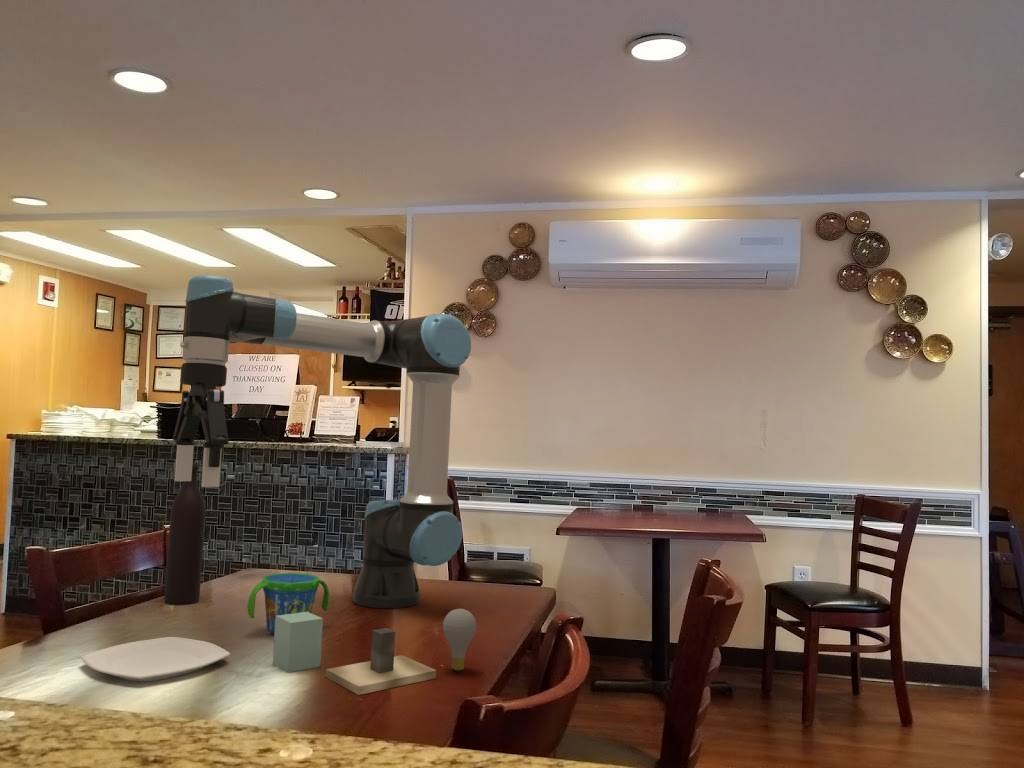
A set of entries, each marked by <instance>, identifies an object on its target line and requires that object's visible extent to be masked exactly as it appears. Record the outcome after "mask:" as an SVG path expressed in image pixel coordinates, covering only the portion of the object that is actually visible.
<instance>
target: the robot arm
mask: <svg viewBox="0 0 1024 768" xmlns="http://www.w3.org/2000/svg"><path fill="white" fill-rule="evenodd" d="M186 290H187V291H186V298H185V301H184V302H185V310H184V311H185V312H184V313H185V314H184V315H185V316H184V331H183V332H184V333H183V341H182V342H180V348H182V358H181V359H182V360H183V361H185V362H183V363H182V364H181V369H180V381H179V382H180V383H181V384H182V385H185V386H190V390H183V391H182V392H181V400H180V401H181V403H180V407H179V411H178V415H177V419H176V424H175V428H174V432H173V436H172V440H173V441H175V444H176V457H175V470H174V482H184V481H191V477H192V464H193V463H194V462H193V461H194V450H195V449H194V448H195V446H196V441H195V436H196V432H197V430H198V427H199V424H200V422H201V426H202V430H203V435H204V439H205V441H204V443H203V444H202V448H203V458H202V459H203V460H202V473H201V488H219V487H220V479H221V467H222V466H221V465H222V464H221V463H222V452H223V451H222V450H223V449H224V446H225V445H228V444H229V434H228V427H227V417H226V407H225V391H224V390H223V389H217V388H220V387H225V386H226V385H227V378H228V377H227V375H228V367H227V365H226V366H225V364H227V363H228V362H229V349H230V344H237V343H243V344H251V345H263V346H271V347H277V348H278V347H279V348H280V347H281V348H286V349H287V348H288V349H297V350H305V351H313V352H318V353H319V352H320V353H328V354H337V355H345V356H352V357H353V356H354V357H361V358H364V360H365V361H366V362H368V363H374V364H380V365H386V366H391V367H397V368H402V369H406V374H405V375H406V376H407V377H408V379H409V380H410V381H411V382H412V397H411V398H412V399H411V411H410V412H411V413H410V414H411V416H410V435H409V436H410V437H409V451H408V454H409V455H408V471H407V473H408V474H407V490H406V494H404V495H403V496H402V497H401V498H400V499H382V500H371V501H369V502H368V503H367V505H366V507H365V513H364V517H363V518H364V528H363V530H364V531H363V546H362V547H363V550H362V551H363V552H362V554H363V555H362V564H361V565H362V567H361V570H360V573H359V575H358V578H357V579H356V584H355V586H354V589H353V592H352V602H353V603H354V604H356V605H358V606H359V605H360V606H362V607H367V608H378V609H398V608H406V607H411V606H415V605H417V604H419V603H420V598H421V592H420V588H419V584H418V579H417V576H416V571H415V567H414V566H415V564H418V565H421V566H430V567H437V566H441V565H444V564H446V563H447V562H449V561H450V560H451V559H452V557H454V555H456V554H457V551H458V550H459V549H460V546H461V544H462V540H463V527H462V523H461V521H459V519H458V517H457V516H456V515H455V514H454V512H453V511H454V500H453V499H451V497H450V496H449V495H448V475H449V472H448V471H449V455H450V454H449V453H450V433H451V415H452V414H451V413H452V411H451V410H452V393H453V385H454V383H455V382H456V381H457V380H459V378H460V367H462V365H463V364H464V363H466V361H467V360H468V359H469V356H470V355H471V351H472V340H471V335H470V332H469V330H468V328H467V327H466V326H465V325H464V324H463V322H462V321H461V320H460V319H459V318H457V317H456V316H454V315H451V314H446V313H440V314H439V313H437V314H436V313H432V314H429V315H425V316H424V315H423V316H420V317H419V316H418V317H414V318H411V317H410V318H404V319H400V320H391V321H389V320H388V321H383V320H376V319H373V320H371V321H369V322H368V323H366V322H359V321H358V322H357V321H351V320H344V319H338V318H333V317H325V316H320V315H319V316H318V315H313V314H307V313H306V314H305V313H299V312H297V310H296V307H295V305H294V304H293V303H292V302H291V301H287V300H283V299H280V298H277V297H276V298H273V297H267V296H266V297H264V296H259V295H253V294H246V293H241V292H238V291H235V289H234V284H233V281H232V280H231V279H230V278H227V277H223V276H219V275H212V274H205V275H204V274H199V275H198V274H197V275H195V276H192V277H191V278H190V279H189V280H188V285H187V289H186ZM414 563H415V564H414Z"/></svg>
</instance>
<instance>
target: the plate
mask: <svg viewBox="0 0 1024 768" xmlns="http://www.w3.org/2000/svg"><path fill="white" fill-rule="evenodd" d="M230 656H231V653H230V652H229V651H228V650H226V649H224V648H223V647H220V646H218V645H216V644H214V643H212V642H209V641H203V640H198V639H193V638H185V637H178V636H166V637H159V638H152V639H144V640H137V641H131V642H126V643H121V644H117V645H112V646H109V647H106V648H103V649H100V650H97V651H93V652H91V653H87V654H84V655H82V656H81V657H80V659H81V660H82V662H83V663H84V664H85V665H87V666H88V667H89V668H90V669H92V670H94V671H97V672H99V673H103V674H106V675H107V674H108V675H111V676H113V677H115V678H116V677H117V678H120V679H124V680H127V681H132V682H133V681H134V682H142V683H146V682H152V681H159V680H164V679H169V678H174V677H179V676H183V674H184V675H187V674H191V673H193V672H196V671H198V669H199V670H201V668H202V669H204V668H206V667H208V666H210V664H211V665H212V664H214V663H216V662H219V661H221V660H224V659H225V658H227V657H230ZM205 666H206V667H205ZM203 667H204V668H203ZM195 670H196V671H195Z"/></svg>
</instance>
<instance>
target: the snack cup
mask: <svg viewBox="0 0 1024 768" xmlns="http://www.w3.org/2000/svg"><path fill="white" fill-rule="evenodd" d="M320 585H321V586H322V587H323V590H324V591H323V598H322V602H321V608H322V610H323V611H328V609H329V607H330V599H331V597H330V589H329V586H328V584H327V583H326V581H324V580H322V579H320V576H317V575H314V574H309V573H308V574H307V573H290V572H289V573H275V574H274V573H273V574H268V575H265V576H264V577H262V580H261V581H260V582H258V583H257V584H255V586H254V587H253V589H251V592H250V595H249V598H248V601H247V614H248V616H249V618H251V619H254V618H255V604H256V597H257V593H259V591H260V590H262V589H263V593H264V603H265V604H264V607H265V608H264V609H265V614H266V615H265V617H266V619H265V620H266V622H265V623H266V630H267V632H268V634H272V635H274V633H275V618H276V616H278V615H285V614H293V613H301V612H309V613H311V614H313V609H314V603H315V599H316V594H317V591H318V588H319V586H320Z"/></svg>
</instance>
